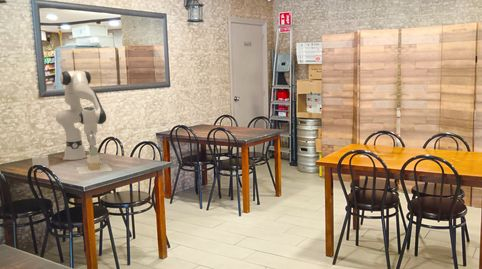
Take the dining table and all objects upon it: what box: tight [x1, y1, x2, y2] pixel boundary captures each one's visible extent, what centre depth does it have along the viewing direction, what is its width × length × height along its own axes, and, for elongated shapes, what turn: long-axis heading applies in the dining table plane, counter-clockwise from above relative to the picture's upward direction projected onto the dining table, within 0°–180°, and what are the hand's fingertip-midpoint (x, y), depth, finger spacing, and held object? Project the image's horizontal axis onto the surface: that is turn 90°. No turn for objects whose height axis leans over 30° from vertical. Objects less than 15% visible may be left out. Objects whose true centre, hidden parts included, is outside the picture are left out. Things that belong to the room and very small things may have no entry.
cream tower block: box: [86, 154, 101, 164], centre depth 335 cm, size 7×7×5 cm
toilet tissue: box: [31, 154, 50, 173], centre depth 338 cm, size 11×12×10 cm
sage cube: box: [87, 146, 99, 156], centre depth 335 cm, size 5×5×5 cm
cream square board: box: [75, 163, 113, 175], centre depth 336 cm, size 24×22×1 cm
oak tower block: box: [87, 162, 100, 170], centre depth 336 cm, size 7×7×5 cm
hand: (92, 150), depth 334 cm, fingers open, 8 cm apart
